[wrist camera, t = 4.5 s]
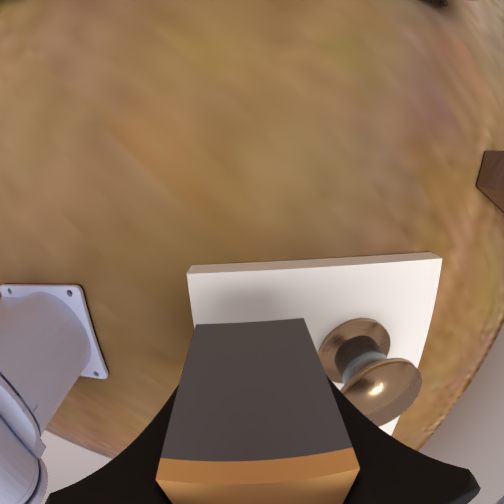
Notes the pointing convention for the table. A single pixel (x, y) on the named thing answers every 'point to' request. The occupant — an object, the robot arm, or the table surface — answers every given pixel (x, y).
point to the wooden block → (493, 177)
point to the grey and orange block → (255, 421)
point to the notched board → (325, 296)
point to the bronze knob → (369, 370)
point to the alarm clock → (443, 2)
